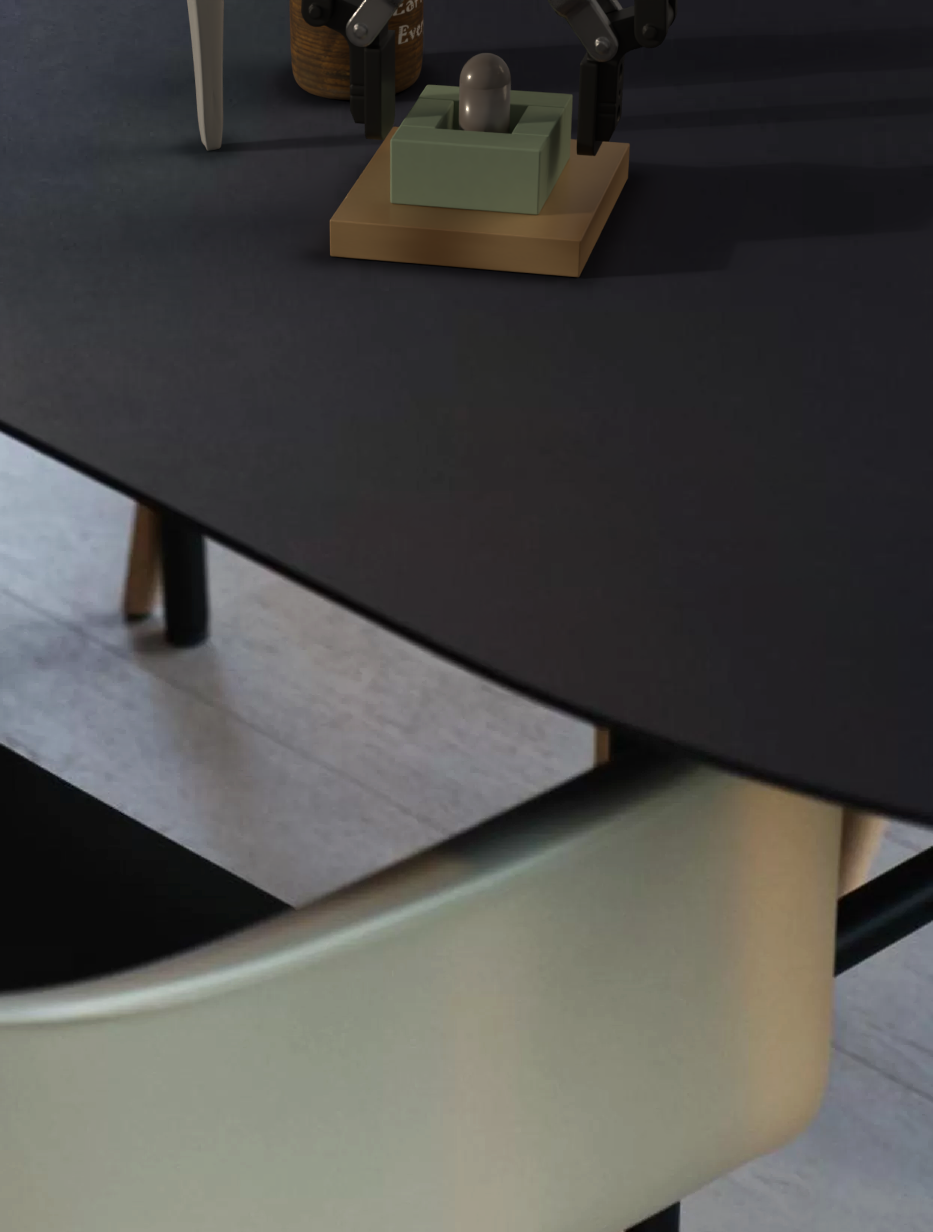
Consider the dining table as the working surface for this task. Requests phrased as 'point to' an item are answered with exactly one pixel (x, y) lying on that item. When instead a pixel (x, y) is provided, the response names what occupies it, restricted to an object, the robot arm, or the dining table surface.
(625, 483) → the dining table surface
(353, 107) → the robot arm
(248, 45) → the dining table surface
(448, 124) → the green square ring block
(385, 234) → the base pad
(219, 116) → the pen
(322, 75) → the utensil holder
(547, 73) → the dining table surface
